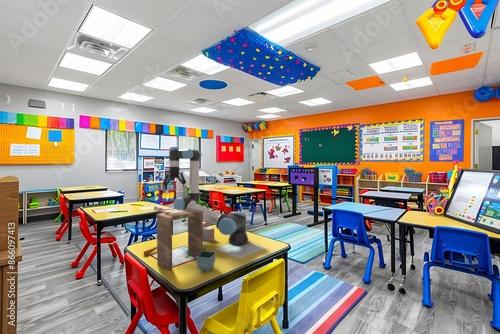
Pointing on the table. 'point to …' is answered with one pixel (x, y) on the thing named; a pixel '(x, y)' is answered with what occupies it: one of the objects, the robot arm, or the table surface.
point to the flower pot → (206, 260)
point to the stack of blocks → (208, 232)
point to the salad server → (169, 211)
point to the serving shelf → (166, 235)
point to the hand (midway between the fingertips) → (174, 193)
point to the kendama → (149, 251)
